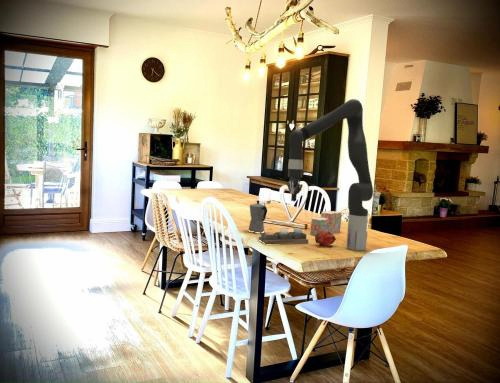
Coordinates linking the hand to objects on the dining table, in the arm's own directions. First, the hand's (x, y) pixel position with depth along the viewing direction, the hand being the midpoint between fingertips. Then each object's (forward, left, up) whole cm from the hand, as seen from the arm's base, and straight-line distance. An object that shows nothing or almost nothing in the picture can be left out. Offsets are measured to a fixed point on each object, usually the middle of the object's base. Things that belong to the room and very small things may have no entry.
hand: (293, 200), depth 245 cm
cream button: (-6, +7, -17) cm, 19 cm away
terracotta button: (-6, +15, -19) cm, 25 cm away
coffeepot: (+20, +11, -21) cm, 31 cm away
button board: (-6, +7, -21) cm, 23 cm away
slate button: (-6, -1, -17) cm, 18 cm away
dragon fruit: (-16, -11, -21) cm, 29 cm away
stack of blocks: (+13, -29, -21) cm, 38 cm away
